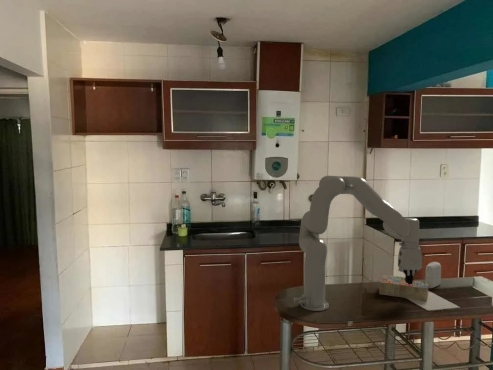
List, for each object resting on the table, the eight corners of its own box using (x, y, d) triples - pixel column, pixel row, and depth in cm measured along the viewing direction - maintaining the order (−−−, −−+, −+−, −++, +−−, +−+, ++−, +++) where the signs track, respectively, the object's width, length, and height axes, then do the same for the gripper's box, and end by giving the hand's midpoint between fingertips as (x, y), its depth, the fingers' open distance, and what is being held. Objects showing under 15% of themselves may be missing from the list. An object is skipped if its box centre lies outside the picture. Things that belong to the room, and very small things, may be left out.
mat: (427, 311, 163) (427, 310, 163) (393, 290, 189) (393, 289, 189) (459, 308, 167) (459, 307, 167) (421, 288, 192) (421, 287, 192)
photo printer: (432, 289, 191) (432, 265, 190) (423, 286, 194) (424, 263, 193) (441, 284, 197) (442, 261, 196) (433, 282, 200) (434, 259, 199)
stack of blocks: (427, 301, 173) (428, 293, 184) (427, 288, 173) (429, 280, 183) (378, 294, 183) (382, 286, 194) (378, 281, 183) (383, 274, 194)
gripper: (400, 247, 169) (399, 287, 170) (429, 245, 172) (428, 284, 173) (390, 243, 176) (390, 281, 178) (419, 241, 179) (418, 279, 181)
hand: (409, 283), depth 175 cm, fingers closed
